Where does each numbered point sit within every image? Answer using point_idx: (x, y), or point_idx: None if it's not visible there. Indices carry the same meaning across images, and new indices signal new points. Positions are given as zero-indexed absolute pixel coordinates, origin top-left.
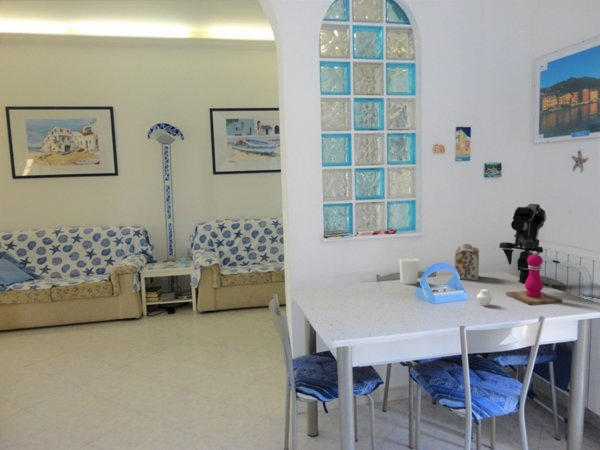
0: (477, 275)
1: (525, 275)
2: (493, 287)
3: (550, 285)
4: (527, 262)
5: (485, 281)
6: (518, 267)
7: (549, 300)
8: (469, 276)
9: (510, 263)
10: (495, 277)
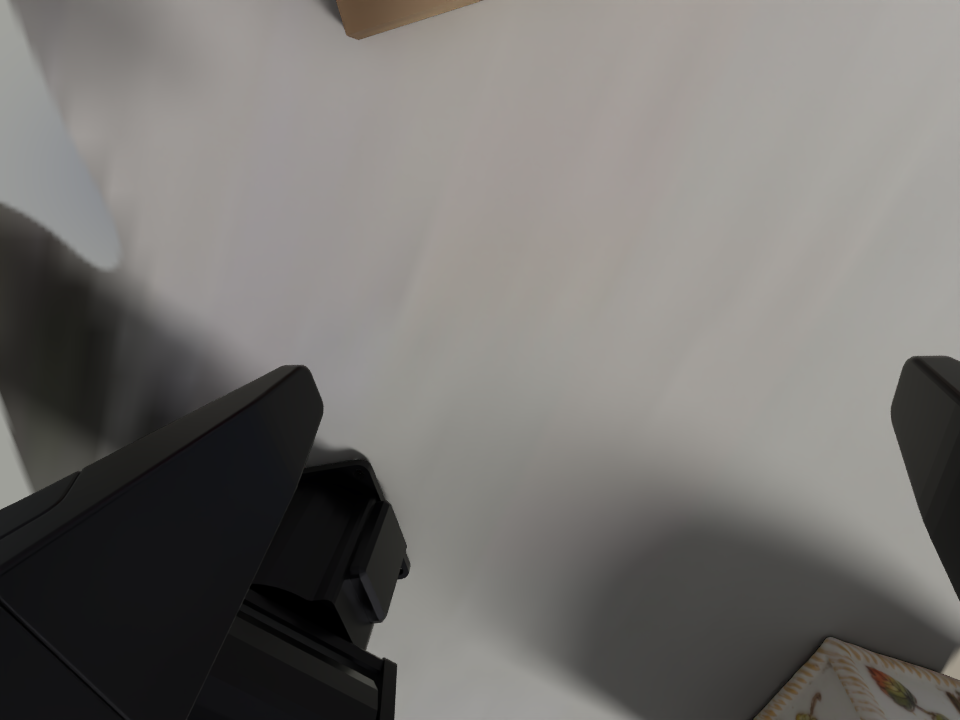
0: (858, 687)
1: (334, 556)
2: (830, 346)
3: (117, 410)
4: (279, 517)
5: (758, 595)
6: (385, 693)
7: None
8: (926, 697)
9: (956, 369)
10: (568, 707)
